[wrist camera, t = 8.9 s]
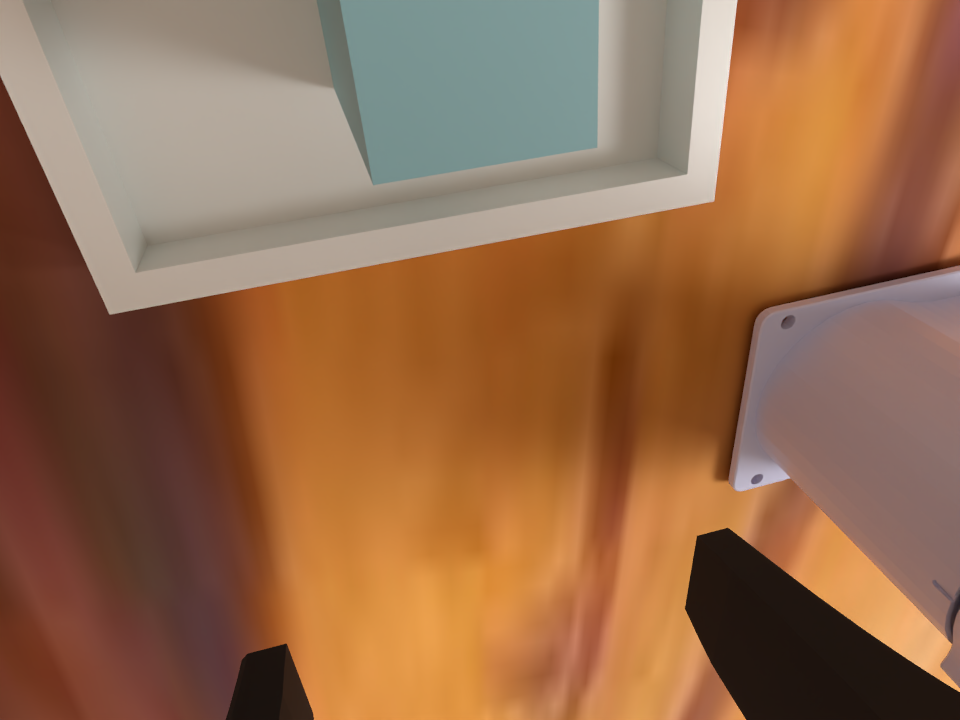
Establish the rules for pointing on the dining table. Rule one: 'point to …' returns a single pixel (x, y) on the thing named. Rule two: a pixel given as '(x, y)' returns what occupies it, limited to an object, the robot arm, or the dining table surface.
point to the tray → (321, 142)
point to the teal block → (463, 81)
